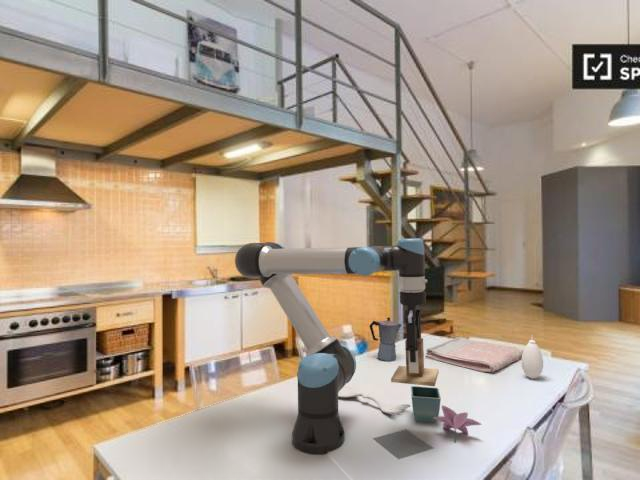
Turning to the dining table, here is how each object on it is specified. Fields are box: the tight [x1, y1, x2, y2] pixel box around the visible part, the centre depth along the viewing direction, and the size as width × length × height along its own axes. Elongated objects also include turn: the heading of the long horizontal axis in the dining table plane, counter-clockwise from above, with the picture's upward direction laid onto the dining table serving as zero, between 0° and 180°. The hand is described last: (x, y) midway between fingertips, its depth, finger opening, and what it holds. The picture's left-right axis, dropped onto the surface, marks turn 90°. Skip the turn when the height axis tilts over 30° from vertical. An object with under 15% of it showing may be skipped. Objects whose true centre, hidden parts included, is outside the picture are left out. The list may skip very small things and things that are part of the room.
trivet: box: [372, 428, 434, 460], centre depth 110 cm, size 12×12×1 cm
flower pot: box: [410, 385, 442, 424], centre depth 125 cm, size 9×9×9 cm
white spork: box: [338, 385, 411, 416], centre depth 138 cm, size 9×32×4 cm, turn 45°
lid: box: [390, 337, 439, 387], centre depth 115 cm, size 12×12×11 cm
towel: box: [424, 336, 524, 373], centre depth 189 cm, size 36×34×6 cm
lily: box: [434, 405, 482, 444], centre depth 113 cm, size 12×12×10 cm
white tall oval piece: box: [521, 335, 544, 380], centre depth 161 cm, size 8×8×18 cm
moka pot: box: [369, 316, 402, 362], centre depth 189 cm, size 10×15×20 cm, turn 89°
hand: (415, 369), depth 115 cm, fingers closed on lid, 4 cm apart
